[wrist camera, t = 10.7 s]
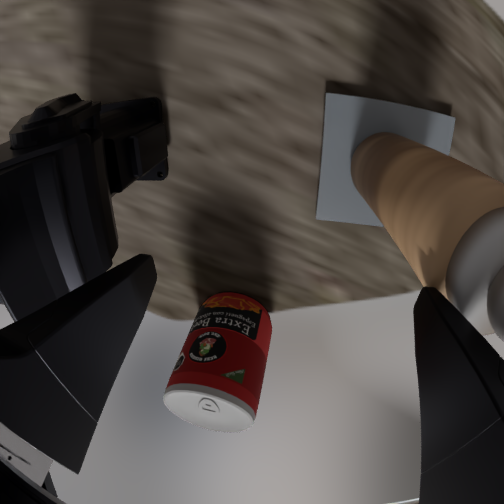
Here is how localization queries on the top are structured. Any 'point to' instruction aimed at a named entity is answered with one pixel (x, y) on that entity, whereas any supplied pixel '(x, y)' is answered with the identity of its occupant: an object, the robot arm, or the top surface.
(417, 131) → the plate
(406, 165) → the pepper mill
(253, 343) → the canned food
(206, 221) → the top surface
